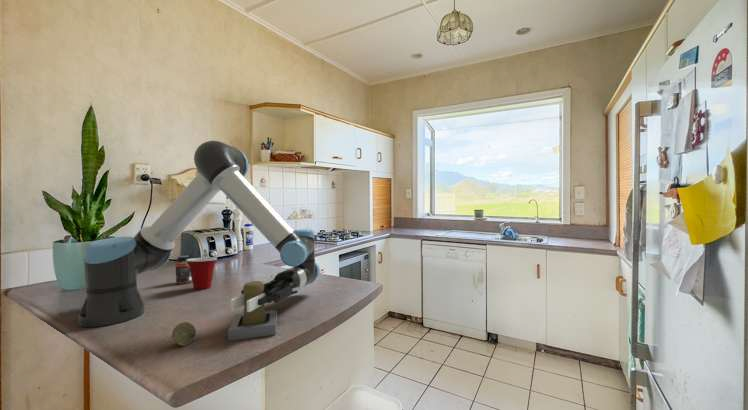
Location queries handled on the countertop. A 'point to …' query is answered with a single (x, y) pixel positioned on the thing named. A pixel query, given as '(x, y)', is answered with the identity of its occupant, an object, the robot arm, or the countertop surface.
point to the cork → (257, 314)
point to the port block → (252, 327)
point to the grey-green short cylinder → (183, 333)
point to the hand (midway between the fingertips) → (240, 305)
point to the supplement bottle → (183, 271)
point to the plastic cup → (201, 272)
